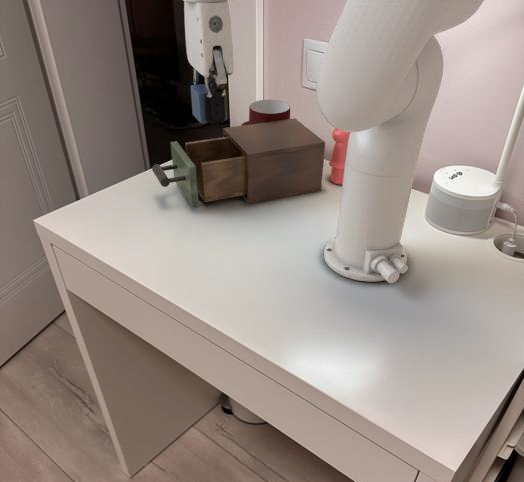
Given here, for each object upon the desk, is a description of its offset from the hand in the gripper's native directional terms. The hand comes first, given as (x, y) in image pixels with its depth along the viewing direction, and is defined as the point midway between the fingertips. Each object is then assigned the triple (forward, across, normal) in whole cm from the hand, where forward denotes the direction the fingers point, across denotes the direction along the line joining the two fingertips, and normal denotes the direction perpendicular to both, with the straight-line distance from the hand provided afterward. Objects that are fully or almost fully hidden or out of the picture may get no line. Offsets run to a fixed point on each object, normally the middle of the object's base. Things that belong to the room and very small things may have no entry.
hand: (210, 115), depth 89 cm
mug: (+14, +11, -15) cm, 23 cm away
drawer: (+13, 0, +1) cm, 13 cm away
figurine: (+14, -4, -24) cm, 28 cm away
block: (0, 0, 0) cm, 0 cm away
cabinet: (+14, 0, -12) cm, 18 cm away
